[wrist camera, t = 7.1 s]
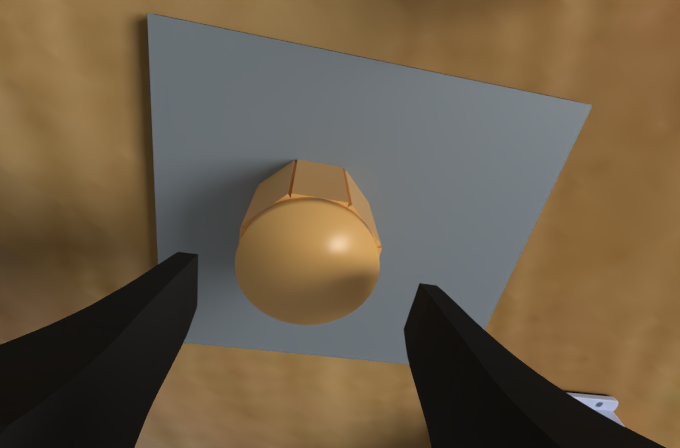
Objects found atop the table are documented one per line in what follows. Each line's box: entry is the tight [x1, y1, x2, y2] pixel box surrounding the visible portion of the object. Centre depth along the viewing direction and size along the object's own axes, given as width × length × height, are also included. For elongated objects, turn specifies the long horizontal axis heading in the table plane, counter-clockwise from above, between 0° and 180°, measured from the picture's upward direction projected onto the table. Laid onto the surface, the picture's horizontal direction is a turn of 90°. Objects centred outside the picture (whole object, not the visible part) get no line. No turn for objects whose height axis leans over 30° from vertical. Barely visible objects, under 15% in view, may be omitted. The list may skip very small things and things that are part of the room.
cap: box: [235, 159, 382, 325], centre depth 15 cm, size 5×5×4 cm
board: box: [147, 13, 592, 364], centre depth 18 cm, size 18×16×1 cm
